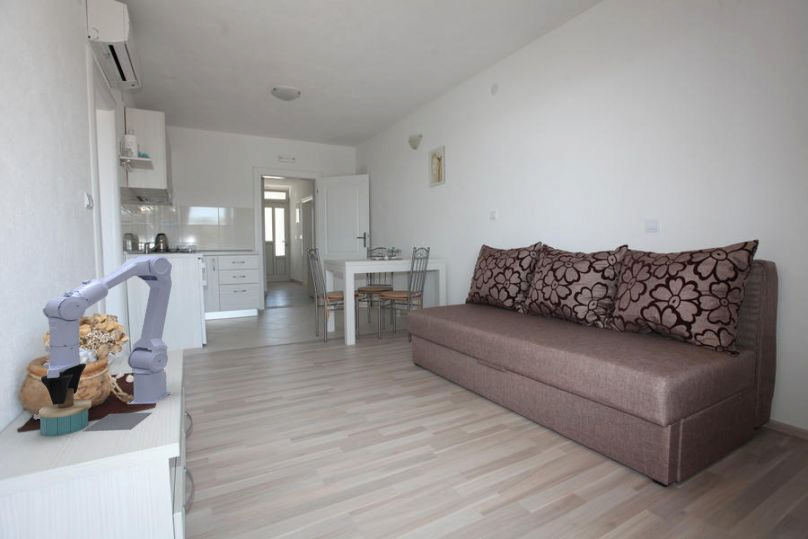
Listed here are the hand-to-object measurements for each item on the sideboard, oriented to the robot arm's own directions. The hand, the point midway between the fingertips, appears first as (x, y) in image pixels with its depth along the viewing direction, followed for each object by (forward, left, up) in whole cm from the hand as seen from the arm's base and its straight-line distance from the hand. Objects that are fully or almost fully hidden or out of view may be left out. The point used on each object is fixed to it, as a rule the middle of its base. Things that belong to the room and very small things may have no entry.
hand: (65, 398), depth 99 cm
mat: (-3, +11, -8) cm, 14 cm away
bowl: (0, 0, -8) cm, 8 cm away
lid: (0, 0, -3) cm, 3 cm away
